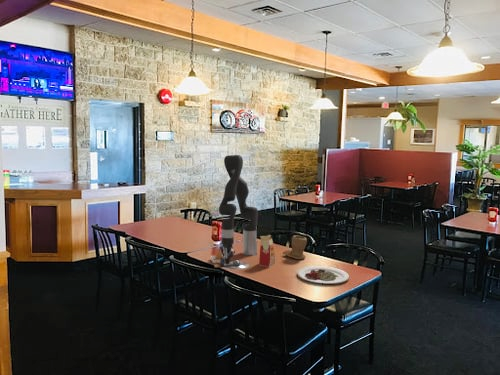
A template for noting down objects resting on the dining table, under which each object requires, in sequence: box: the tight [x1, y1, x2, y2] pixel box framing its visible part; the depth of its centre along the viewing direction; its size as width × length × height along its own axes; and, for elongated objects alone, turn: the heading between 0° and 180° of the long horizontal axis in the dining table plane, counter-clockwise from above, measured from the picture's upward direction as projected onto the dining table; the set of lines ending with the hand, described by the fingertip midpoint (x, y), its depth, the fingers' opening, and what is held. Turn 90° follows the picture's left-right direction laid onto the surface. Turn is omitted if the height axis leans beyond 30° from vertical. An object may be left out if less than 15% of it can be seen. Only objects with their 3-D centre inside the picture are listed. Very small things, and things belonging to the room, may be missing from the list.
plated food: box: [296, 265, 350, 285], centre depth 240 cm, size 30×30×3 cm
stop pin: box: [215, 247, 222, 260], centre depth 266 cm, size 4×4×8 cm
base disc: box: [213, 261, 250, 270], centre depth 256 cm, size 22×16×2 cm
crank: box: [219, 257, 241, 268], centre depth 256 cm, size 13×4×5 cm, turn 105°
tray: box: [210, 255, 224, 264], centre depth 266 cm, size 9×9×2 cm
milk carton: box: [258, 234, 277, 269], centre depth 259 cm, size 9×9×20 cm
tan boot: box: [282, 234, 308, 260], centre depth 278 cm, size 15×12×15 cm
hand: (227, 263), depth 250 cm, fingers closed
